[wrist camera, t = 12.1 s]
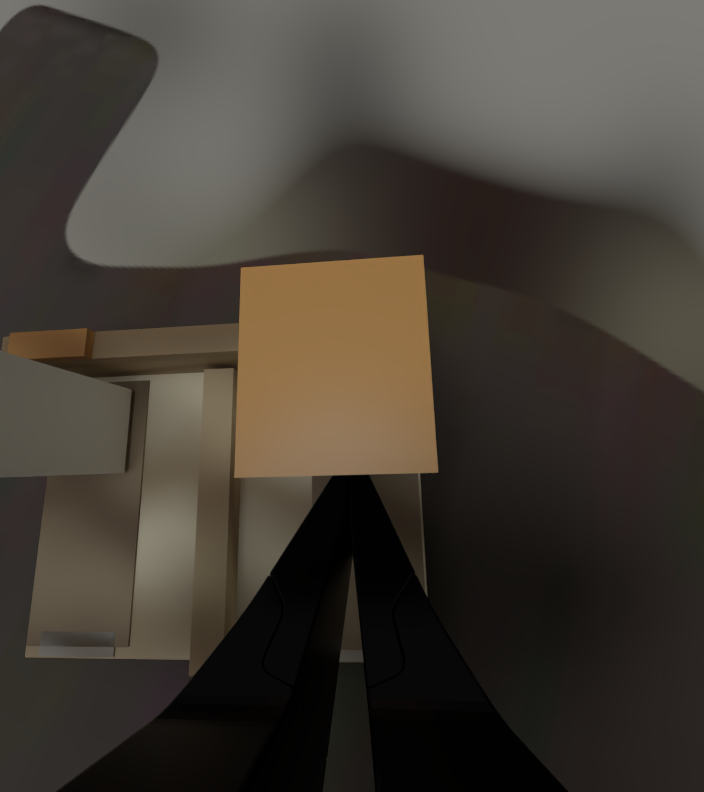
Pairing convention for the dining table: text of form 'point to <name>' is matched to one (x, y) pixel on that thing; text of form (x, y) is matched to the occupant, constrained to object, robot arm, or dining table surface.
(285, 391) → the tab
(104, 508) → the switch bank
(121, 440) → the tab
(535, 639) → the dining table surface
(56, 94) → the dining table surface
